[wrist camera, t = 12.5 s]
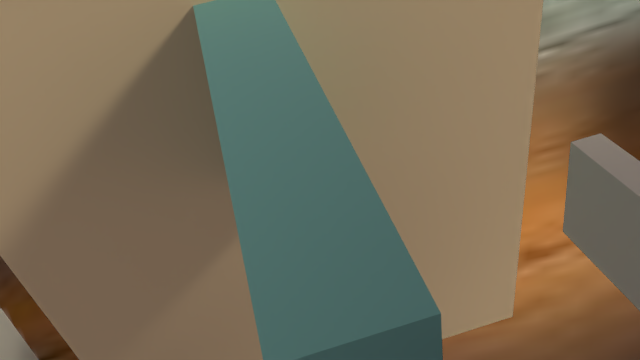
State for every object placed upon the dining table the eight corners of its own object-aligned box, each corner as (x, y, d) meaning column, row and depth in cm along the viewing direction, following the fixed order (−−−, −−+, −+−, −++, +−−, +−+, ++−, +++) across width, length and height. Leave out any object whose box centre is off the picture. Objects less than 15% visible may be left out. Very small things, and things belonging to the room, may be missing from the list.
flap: (502, 300, 28) (684, 580, 18) (137, 415, 26) (135, 787, 17) (537, -173, 15) (1184, -45, 6) (-170, -8, 13) (-886, 557, 4)
